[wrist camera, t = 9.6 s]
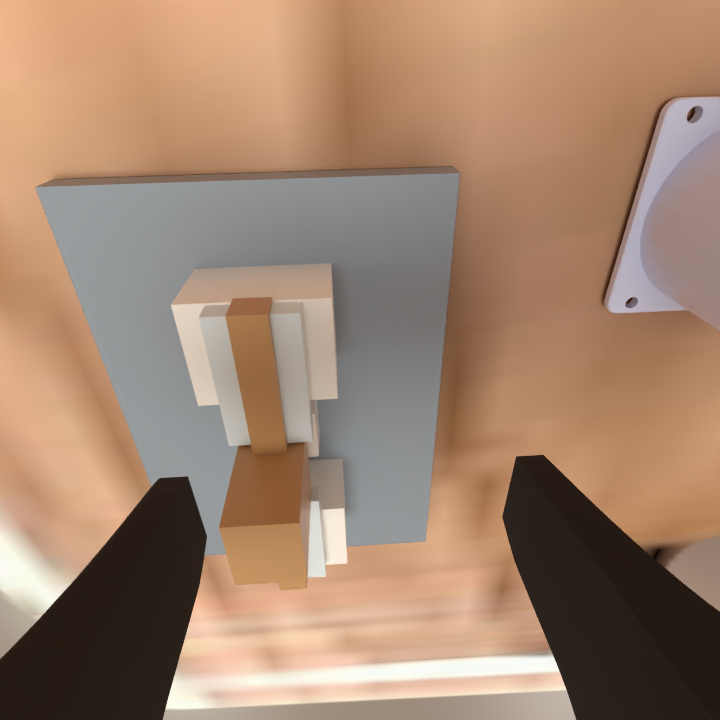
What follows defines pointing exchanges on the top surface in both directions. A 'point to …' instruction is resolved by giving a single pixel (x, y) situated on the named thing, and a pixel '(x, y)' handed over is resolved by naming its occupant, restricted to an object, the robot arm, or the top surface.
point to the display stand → (284, 284)
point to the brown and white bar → (266, 441)
